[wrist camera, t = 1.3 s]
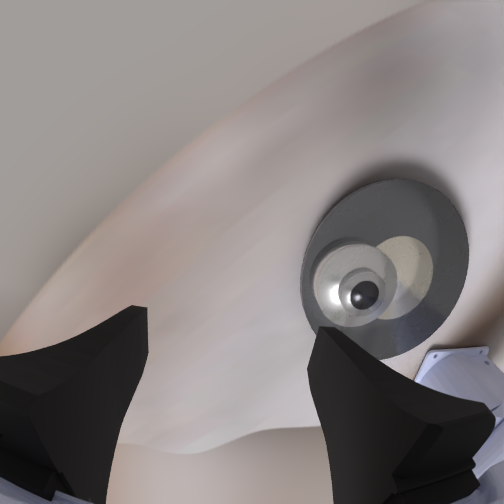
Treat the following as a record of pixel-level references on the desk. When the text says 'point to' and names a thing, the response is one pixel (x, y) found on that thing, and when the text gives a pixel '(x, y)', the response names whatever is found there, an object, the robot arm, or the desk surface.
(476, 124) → the desk surface
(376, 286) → the cover
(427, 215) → the turntable
